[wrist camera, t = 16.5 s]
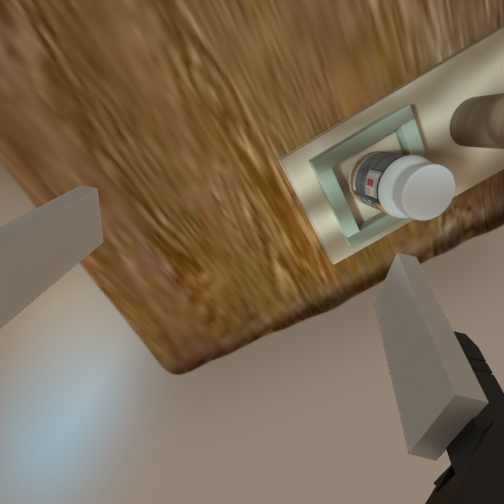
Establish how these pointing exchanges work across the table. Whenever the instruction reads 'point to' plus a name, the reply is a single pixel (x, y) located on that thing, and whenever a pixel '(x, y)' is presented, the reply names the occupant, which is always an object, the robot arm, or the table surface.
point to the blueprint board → (405, 143)
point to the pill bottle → (402, 185)
